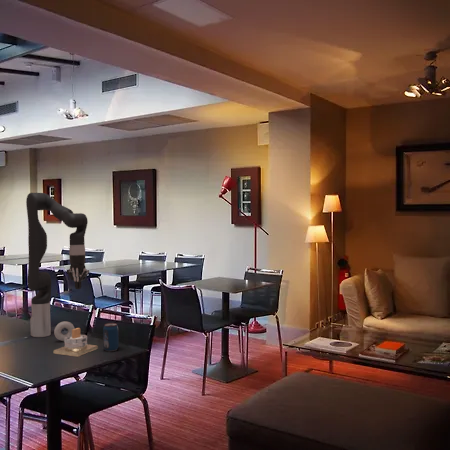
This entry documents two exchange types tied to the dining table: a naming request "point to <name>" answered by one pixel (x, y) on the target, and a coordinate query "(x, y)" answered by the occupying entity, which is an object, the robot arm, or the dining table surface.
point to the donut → (61, 326)
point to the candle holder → (75, 347)
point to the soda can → (110, 337)
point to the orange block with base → (76, 334)
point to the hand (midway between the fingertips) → (78, 288)
